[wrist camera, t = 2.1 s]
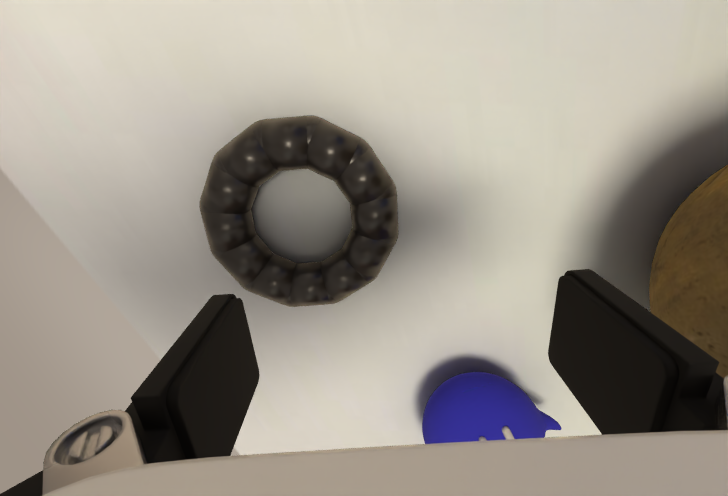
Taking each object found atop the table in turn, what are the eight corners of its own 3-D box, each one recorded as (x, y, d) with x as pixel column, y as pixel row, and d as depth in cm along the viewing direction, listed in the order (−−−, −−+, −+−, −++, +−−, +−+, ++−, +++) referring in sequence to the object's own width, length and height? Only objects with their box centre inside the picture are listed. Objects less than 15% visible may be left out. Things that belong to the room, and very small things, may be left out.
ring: (235, 298, 25) (220, 320, 22) (192, 125, 20) (168, 127, 18) (398, 285, 25) (403, 307, 22) (390, 108, 20) (395, 108, 18)
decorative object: (589, 518, 24) (442, 524, 26) (557, 442, 29) (437, 453, 32) (576, 400, 20) (408, 419, 23) (542, 339, 26) (409, 359, 28)
